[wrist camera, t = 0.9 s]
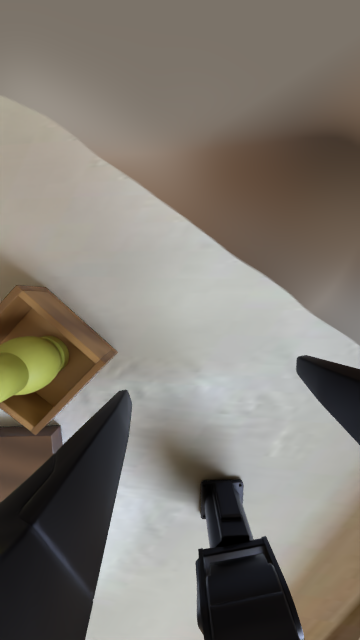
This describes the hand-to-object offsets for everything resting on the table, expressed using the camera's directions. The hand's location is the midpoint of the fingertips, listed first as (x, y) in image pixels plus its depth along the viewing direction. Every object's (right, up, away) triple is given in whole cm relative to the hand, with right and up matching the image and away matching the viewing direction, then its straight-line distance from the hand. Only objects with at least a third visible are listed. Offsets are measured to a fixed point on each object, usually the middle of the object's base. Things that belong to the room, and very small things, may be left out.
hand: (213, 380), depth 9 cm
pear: (-19, -1, +14) cm, 24 cm away
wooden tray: (-19, -1, +14) cm, 24 cm away
